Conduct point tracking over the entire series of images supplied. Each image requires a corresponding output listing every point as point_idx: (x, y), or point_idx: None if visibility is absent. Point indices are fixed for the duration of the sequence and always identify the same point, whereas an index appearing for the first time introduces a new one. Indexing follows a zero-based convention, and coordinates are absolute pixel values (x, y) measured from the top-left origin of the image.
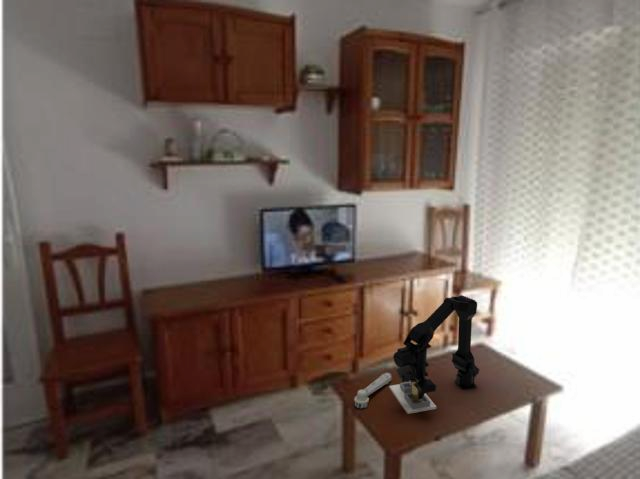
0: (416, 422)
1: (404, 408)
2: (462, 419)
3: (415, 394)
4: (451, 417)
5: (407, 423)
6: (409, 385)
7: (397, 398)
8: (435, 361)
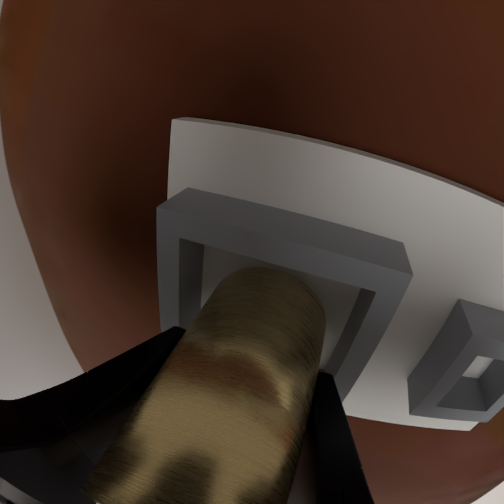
0: (82, 131)
1: (263, 129)
2: (89, 359)
3: (185, 348)
4: (102, 342)
5: (91, 58)
6: (476, 393)
7: (458, 184)
8: (465, 498)
